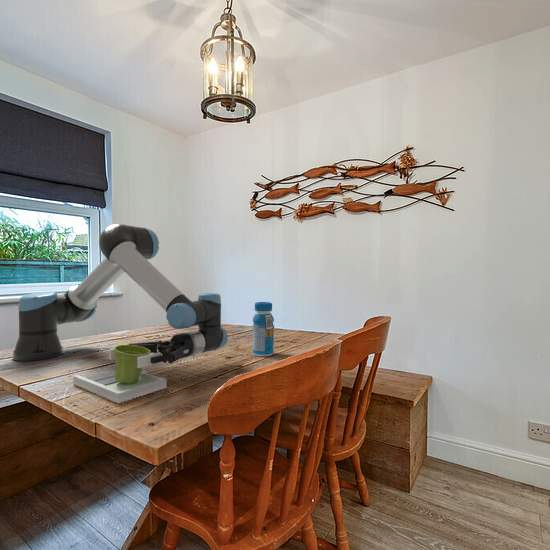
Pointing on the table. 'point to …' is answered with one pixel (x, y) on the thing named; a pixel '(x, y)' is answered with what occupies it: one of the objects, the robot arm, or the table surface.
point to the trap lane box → (120, 386)
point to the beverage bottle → (263, 329)
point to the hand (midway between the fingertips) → (123, 358)
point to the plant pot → (128, 362)
